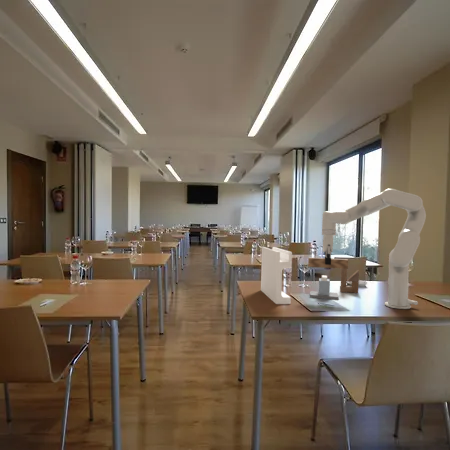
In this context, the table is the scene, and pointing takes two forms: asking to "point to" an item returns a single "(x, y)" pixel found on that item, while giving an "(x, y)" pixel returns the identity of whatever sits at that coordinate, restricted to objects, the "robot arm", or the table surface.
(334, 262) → the walnut beam
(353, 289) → the wooden angled stand
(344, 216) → the robot arm
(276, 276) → the block
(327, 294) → the stand
